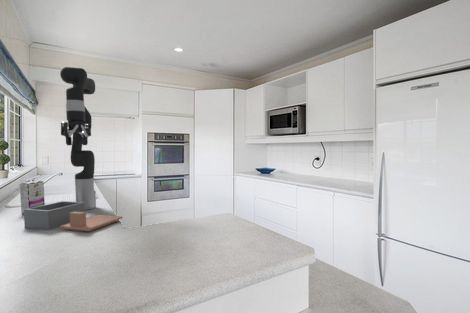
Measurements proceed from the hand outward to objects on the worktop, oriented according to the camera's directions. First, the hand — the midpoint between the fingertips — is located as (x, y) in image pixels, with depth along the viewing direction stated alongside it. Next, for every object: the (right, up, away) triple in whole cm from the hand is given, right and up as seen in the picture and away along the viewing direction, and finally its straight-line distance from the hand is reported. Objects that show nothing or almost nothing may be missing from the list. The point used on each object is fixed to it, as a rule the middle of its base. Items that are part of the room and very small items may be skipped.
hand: (77, 145), depth 124 cm
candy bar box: (-37, -36, +21) cm, 56 cm away
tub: (-7, -36, -4) cm, 37 cm away
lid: (+12, -36, -8) cm, 39 cm away
